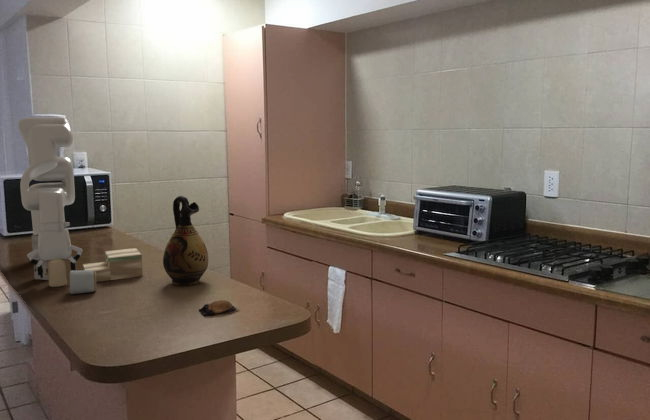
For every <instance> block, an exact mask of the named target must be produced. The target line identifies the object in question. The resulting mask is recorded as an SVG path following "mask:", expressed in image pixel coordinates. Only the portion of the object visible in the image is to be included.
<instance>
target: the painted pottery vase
mask: <svg viewBox="0 0 650 420" xmlns="http://www.w3.org/2000/svg"><path fill="white" fill-rule="evenodd" d="M180 207H181V209H180ZM199 211H200V207H199V205H198V204H197V202H195V201H193V202H192V203H190V202H189V199H188V198H187V197H186V196H183V195H179V196H176V197H175V199H174V200H173V201H172V212H173V218H174V224H175V231H174V232H173V233H171V236H170V237H169V239H168V242H167V243H166V244H165V245H166V246H165V249H164V251H163V257H162V258H163V259H162V265H163V269H164V271H165V273H166V274H167V276H168V277H169V278H170V279H171V282H172V284H173V285H175V286H177V287H182V286H183V287H184V286H185V287H187V286H188V287H189V286H194V285H196V284H199V283H200V280H201V278H202V277H203V276H204V274H205V273H206V271H207V269H208V268H209V266H208V265H209V254H208V249H207V247H206V244H205V242H204V240H203V238H202V237H201V234H200V233H199V232H198V230H197V229H196V228H195V226H194V225H193V223H192V221H191V220H192V218H191V216H192V215H195V214H196V213H198V212H199Z"/></svg>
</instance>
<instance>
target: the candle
mask: <svg viewBox="0 0 650 420" xmlns="http://www.w3.org/2000/svg"><path fill="white" fill-rule="evenodd" d="M47 265H48V277H49V280H48V286H49V287H51V288H57V287H63V286H66V285H67V271H66V260H65V259H54V260H49V261H47Z"/></svg>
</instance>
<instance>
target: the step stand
mask: <svg viewBox="0 0 650 420" xmlns="http://www.w3.org/2000/svg"><path fill="white" fill-rule="evenodd" d="M104 256H105V261H100V262H90V263H89V262H88V263H82V269H83V270H92V271H95V272H96V283H97V282H105V281H113V280H123V279H129V278H138V277H143V275H144V274H143V271H144V270H143V257H142V253H141V252H140V251H139V249H137V248H136V247H133V248H123V249H115V250H114V249H112V250H105V251H104Z"/></svg>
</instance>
